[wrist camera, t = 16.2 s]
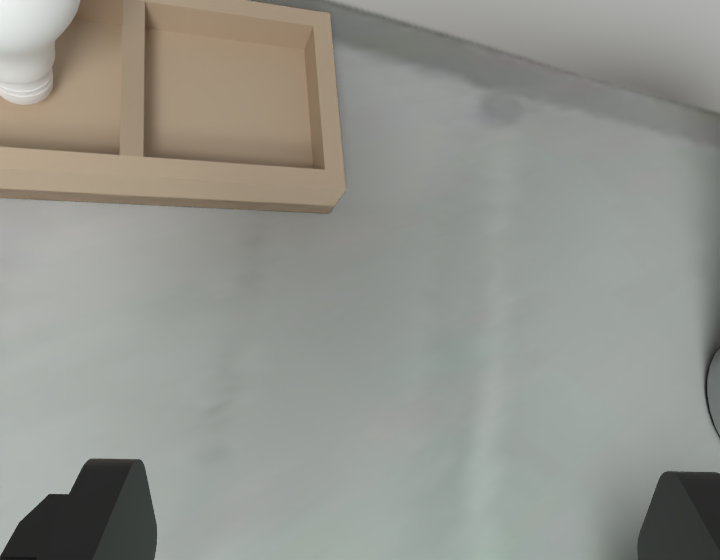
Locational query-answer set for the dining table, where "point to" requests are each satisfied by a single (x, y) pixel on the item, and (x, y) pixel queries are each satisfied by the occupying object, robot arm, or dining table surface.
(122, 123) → the wooden compartment tray
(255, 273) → the dining table surface
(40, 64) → the lightbulb
